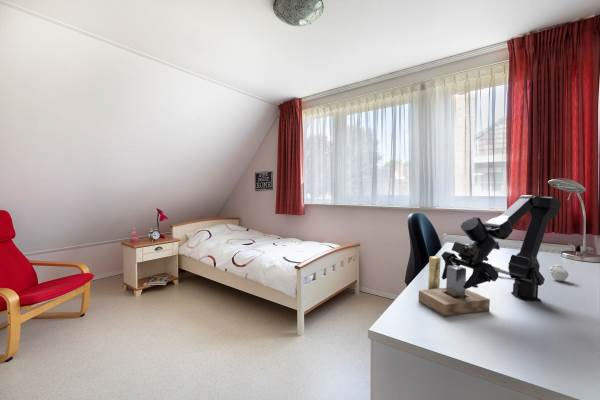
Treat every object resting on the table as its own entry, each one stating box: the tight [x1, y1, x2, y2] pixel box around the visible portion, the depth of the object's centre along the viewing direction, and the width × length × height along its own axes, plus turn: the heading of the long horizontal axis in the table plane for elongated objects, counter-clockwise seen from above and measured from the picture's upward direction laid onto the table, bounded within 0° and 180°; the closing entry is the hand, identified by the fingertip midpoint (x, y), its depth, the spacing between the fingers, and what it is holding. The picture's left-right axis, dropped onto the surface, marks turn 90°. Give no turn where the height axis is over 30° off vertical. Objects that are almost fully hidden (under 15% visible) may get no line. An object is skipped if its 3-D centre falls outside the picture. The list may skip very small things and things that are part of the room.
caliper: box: [483, 261, 510, 276], centre depth 124 cm, size 20×1×6 cm, turn 55°
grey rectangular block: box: [445, 265, 467, 299], centre depth 92 cm, size 4×4×13 cm
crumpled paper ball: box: [548, 264, 570, 282], centre depth 120 cm, size 6×7×7 cm
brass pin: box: [427, 255, 442, 290], centre depth 107 cm, size 4×4×13 cm
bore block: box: [418, 287, 491, 318], centre depth 92 cm, size 18×12×4 cm, turn 105°
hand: (453, 283), depth 92 cm, fingers open, 9 cm apart
